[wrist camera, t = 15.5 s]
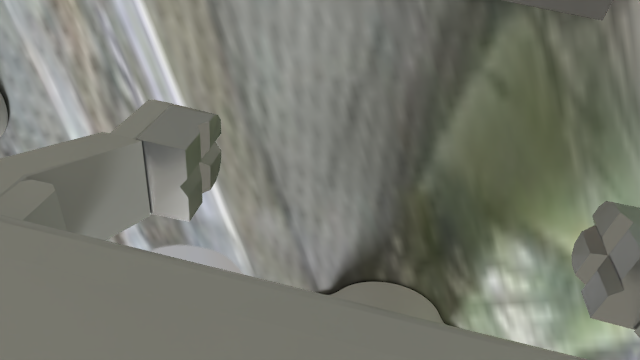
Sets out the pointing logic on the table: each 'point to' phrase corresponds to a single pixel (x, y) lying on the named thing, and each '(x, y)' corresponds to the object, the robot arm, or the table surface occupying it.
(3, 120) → the cylinder vase
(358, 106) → the table surface
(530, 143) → the table surface
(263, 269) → the table surface
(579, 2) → the tray
